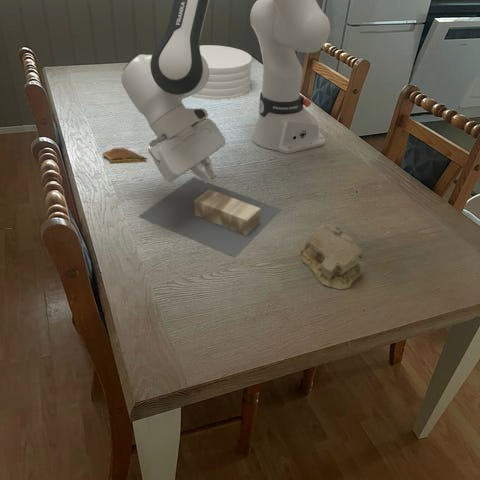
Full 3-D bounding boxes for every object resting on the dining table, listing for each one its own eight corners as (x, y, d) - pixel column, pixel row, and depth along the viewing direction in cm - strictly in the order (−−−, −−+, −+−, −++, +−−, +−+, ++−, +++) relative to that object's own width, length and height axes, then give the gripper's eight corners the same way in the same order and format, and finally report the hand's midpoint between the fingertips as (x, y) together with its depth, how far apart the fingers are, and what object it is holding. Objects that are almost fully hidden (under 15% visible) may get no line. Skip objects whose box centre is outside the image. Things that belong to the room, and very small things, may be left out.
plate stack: (249, 102, 168) (252, 70, 161) (172, 97, 167) (171, 65, 160) (249, 76, 190) (251, 47, 183) (181, 72, 189) (180, 43, 182)
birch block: (194, 200, 106) (247, 220, 101) (208, 189, 110) (260, 208, 105) (194, 214, 109) (246, 235, 103) (208, 203, 113) (259, 222, 108)
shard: (147, 163, 129) (147, 157, 128) (126, 173, 124) (126, 167, 123) (120, 150, 134) (120, 145, 133) (99, 160, 129) (99, 154, 128)
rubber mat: (138, 218, 107) (138, 216, 107) (193, 179, 122) (193, 177, 122) (234, 259, 97) (234, 257, 97) (281, 211, 113) (281, 209, 112)
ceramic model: (372, 274, 96) (384, 235, 90) (336, 296, 90) (346, 257, 84) (322, 240, 105) (330, 202, 99) (287, 258, 99) (293, 220, 93)
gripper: (152, 137, 92) (193, 194, 95) (209, 106, 107) (243, 156, 109) (136, 151, 97) (175, 205, 99) (193, 120, 111) (226, 168, 114)
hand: (211, 179), depth 104 cm, fingers closed
